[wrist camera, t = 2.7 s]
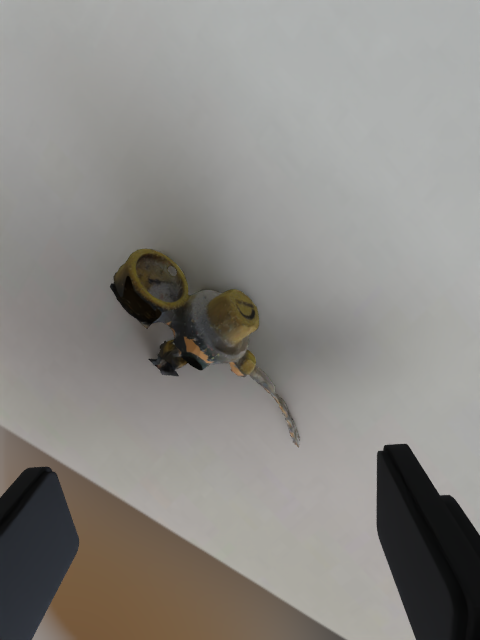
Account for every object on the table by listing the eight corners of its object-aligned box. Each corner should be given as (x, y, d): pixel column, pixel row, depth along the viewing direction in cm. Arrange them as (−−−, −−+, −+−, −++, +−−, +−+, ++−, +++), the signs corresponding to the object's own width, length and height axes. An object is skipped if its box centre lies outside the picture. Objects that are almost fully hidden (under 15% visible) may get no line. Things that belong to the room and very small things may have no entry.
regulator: (345, 407, 22) (194, 202, 15) (346, 466, 18) (160, 240, 12) (248, 430, 25) (96, 273, 19) (236, 483, 22) (52, 315, 16)
